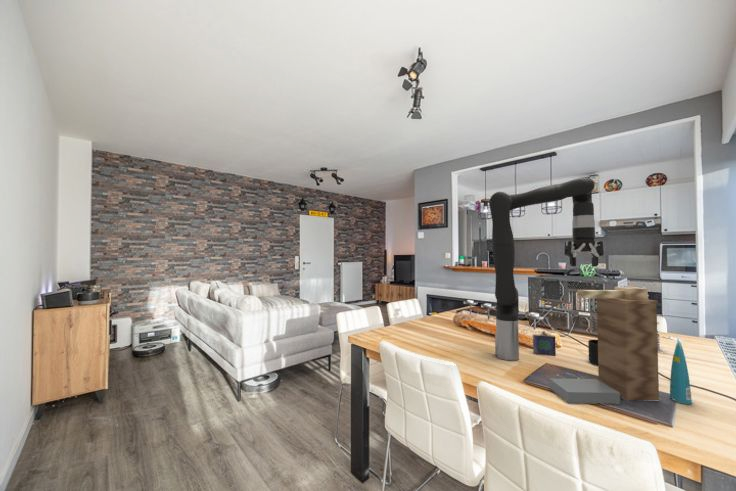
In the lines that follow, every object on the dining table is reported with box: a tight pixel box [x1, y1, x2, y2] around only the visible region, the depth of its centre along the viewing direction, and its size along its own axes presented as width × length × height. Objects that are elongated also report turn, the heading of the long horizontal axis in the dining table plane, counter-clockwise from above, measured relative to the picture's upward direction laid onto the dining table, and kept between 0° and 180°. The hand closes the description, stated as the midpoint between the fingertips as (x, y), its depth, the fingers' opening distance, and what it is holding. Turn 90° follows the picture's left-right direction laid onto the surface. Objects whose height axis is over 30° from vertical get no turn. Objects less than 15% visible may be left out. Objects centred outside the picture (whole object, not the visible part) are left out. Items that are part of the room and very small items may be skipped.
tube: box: [669, 337, 693, 405], centre depth 94 cm, size 7×5×19 cm, turn 140°
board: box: [549, 378, 621, 405], centre depth 97 cm, size 16×10×4 cm, turn 88°
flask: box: [532, 330, 557, 357], centre depth 138 cm, size 9×3×11 cm, turn 71°
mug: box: [587, 339, 598, 367], centre depth 126 cm, size 9×12×9 cm
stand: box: [596, 298, 660, 401], centre depth 100 cm, size 11×13×32 cm
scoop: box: [577, 286, 649, 299], centre depth 101 cm, size 20×6×4 cm, turn 88°
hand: (584, 266), depth 120 cm, fingers open, 8 cm apart
